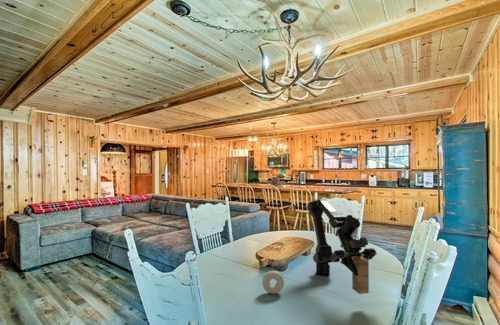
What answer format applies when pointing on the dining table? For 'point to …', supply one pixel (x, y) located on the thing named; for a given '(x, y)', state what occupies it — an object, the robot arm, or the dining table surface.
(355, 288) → the walnut block
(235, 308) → the dining table surface
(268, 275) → the donut
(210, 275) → the dining table surface
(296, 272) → the dining table surface
